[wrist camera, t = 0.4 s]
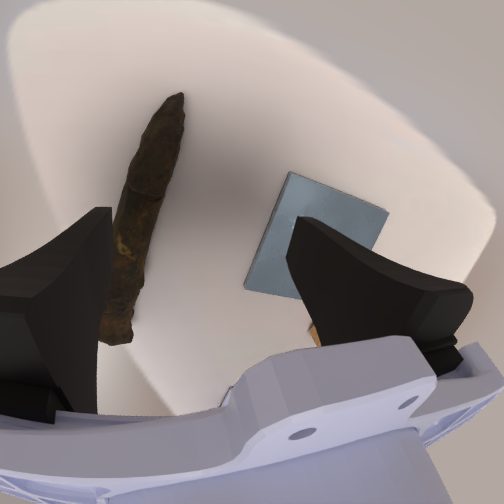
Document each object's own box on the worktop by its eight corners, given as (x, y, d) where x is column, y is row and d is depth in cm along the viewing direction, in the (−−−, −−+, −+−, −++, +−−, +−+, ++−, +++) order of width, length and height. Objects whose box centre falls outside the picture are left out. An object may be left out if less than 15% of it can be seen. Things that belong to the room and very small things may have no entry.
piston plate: (338, 302, 29) (357, 329, 26) (243, 285, 26) (254, 315, 22) (385, 210, 26) (413, 229, 22) (289, 171, 22) (310, 186, 19)
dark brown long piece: (133, 322, 26) (129, 360, 22) (91, 309, 24) (81, 346, 20) (218, 109, 19) (229, 111, 15) (165, 88, 18) (161, 83, 14)
